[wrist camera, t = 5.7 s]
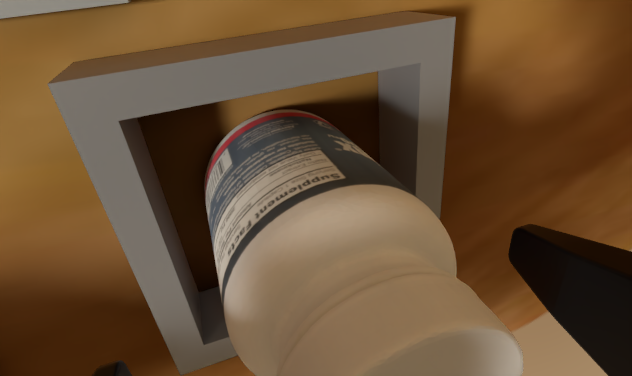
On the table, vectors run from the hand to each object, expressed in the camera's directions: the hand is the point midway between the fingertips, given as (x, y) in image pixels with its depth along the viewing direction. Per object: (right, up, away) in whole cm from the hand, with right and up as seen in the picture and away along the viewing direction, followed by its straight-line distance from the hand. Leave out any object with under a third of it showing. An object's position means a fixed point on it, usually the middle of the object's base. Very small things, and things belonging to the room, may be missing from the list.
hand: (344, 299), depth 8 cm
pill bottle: (-2, +3, +5) cm, 6 cm away
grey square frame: (-2, +3, +5) cm, 6 cm away
